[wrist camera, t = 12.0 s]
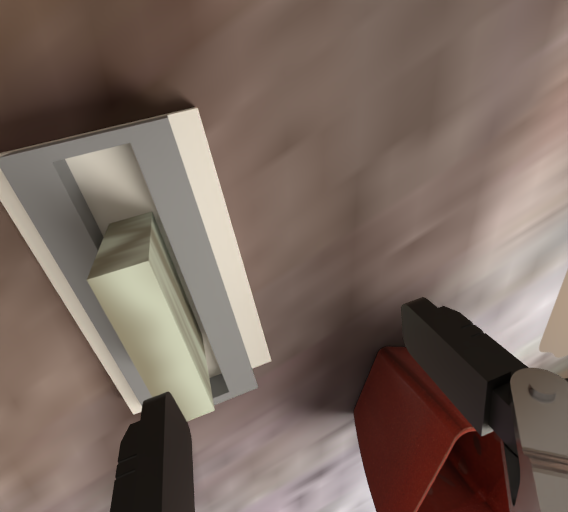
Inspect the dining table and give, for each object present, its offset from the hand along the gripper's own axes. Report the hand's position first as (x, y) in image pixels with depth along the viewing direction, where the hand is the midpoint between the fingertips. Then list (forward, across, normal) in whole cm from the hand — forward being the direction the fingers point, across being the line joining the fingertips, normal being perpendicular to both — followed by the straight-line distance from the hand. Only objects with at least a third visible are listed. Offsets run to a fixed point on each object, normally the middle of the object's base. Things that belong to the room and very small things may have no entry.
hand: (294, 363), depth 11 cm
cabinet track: (+24, +8, +7) cm, 26 cm away
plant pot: (+25, -17, +37) cm, 48 cm away
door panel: (+22, +8, +7) cm, 24 cm away
